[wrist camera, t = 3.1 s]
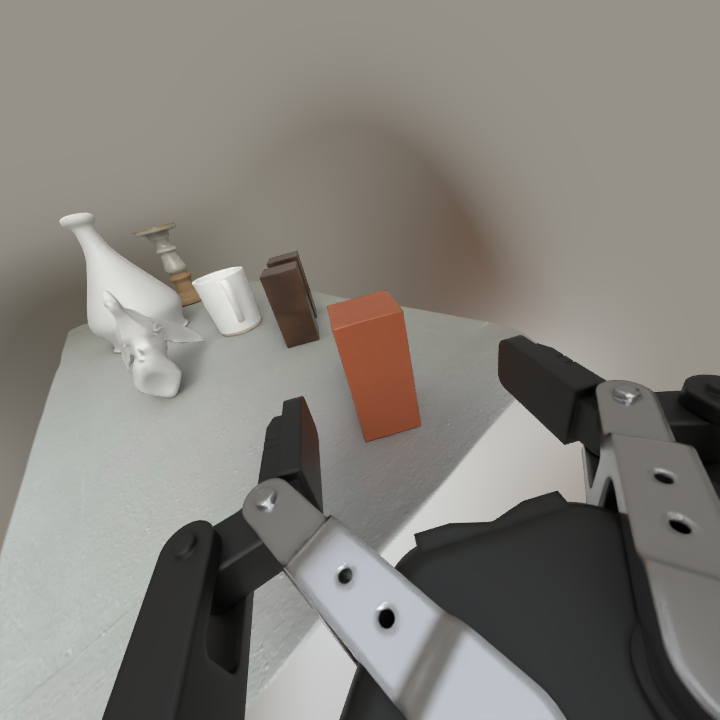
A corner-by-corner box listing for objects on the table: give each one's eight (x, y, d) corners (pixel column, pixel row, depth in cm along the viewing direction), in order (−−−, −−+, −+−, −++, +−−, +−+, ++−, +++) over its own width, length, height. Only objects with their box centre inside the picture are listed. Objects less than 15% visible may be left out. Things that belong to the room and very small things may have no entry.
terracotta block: (404, 392, 30) (385, 289, 24) (421, 426, 26) (403, 309, 20) (357, 406, 30) (326, 305, 24) (366, 442, 26) (332, 329, 20)
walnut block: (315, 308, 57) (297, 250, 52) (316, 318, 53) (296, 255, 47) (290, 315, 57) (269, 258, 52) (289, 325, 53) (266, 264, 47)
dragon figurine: (39, 358, 28) (43, 285, 35) (148, 440, 42) (135, 376, 49) (173, 310, 32) (152, 254, 39) (231, 400, 46) (208, 346, 53)
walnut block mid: (318, 326, 50) (296, 260, 44) (319, 339, 45) (295, 267, 40) (289, 334, 49) (263, 269, 44) (287, 348, 45) (259, 277, 40)
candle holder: (172, 301, 92) (132, 233, 81) (212, 288, 95) (179, 221, 85) (169, 311, 82) (123, 235, 71) (214, 296, 85) (176, 221, 75)
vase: (118, 362, 56) (10, 221, 44) (102, 347, 67) (12, 231, 55) (204, 322, 66) (136, 197, 53) (177, 314, 77) (116, 209, 65)
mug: (215, 329, 60) (189, 280, 55) (257, 312, 63) (236, 264, 58) (225, 346, 51) (195, 289, 46) (273, 325, 55) (250, 270, 49)
